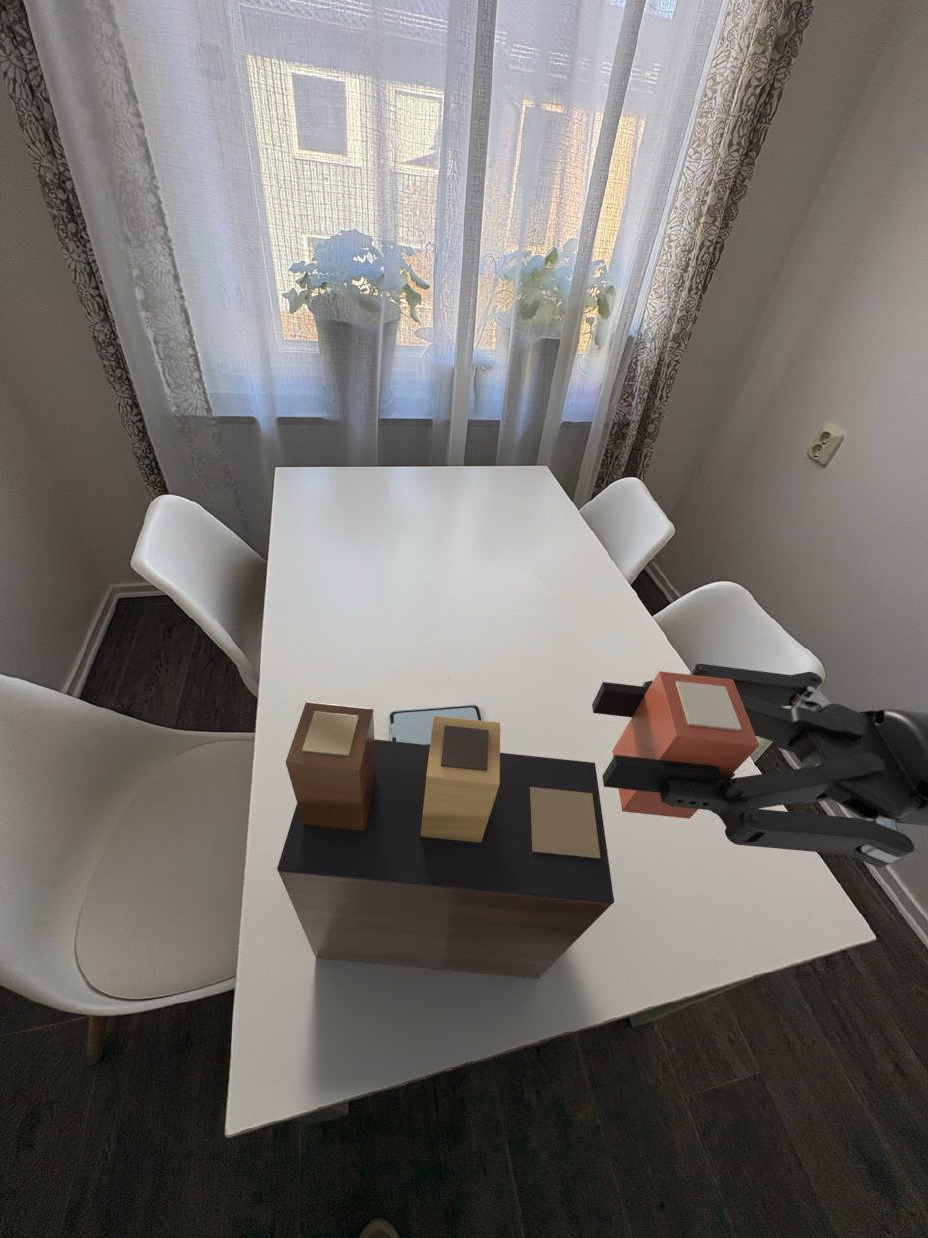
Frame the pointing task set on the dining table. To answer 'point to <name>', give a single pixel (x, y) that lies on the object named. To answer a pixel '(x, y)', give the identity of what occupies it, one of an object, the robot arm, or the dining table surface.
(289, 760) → the wooden block
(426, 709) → the smartphone
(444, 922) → the stand
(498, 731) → the wooden pillar block
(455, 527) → the dining table surface
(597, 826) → the black mat
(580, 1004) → the dining table surface
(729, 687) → the orange block
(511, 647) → the dining table surface
